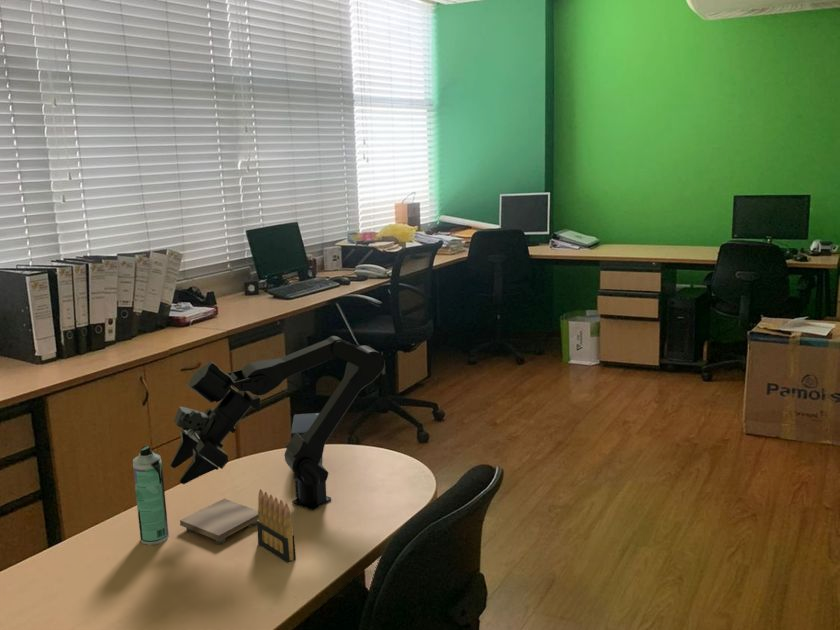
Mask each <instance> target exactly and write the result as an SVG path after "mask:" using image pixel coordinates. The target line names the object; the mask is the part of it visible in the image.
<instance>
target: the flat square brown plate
mask: <svg viewBox="0 0 840 630" xmlns="http://www.w3.org/2000/svg"><path fill="white" fill-rule="evenodd" d="M179 521H180V522H179V525H180V526H181V527H184V528H186V529H185V530H186V533H194V532H195V533H198V534H201V535H203V536H206V537H208V538H211V539H213V540H214V542H215V544H216V545H223V544H225V542H226V538H228V537H229V536H231V535H233V534H235V533H236V532H238V531H240V530H242V529H244V528H246V527H247V526H249V527H256V526H257V521H259V519H258V509H255V508H252V507H249V506H246V505H243V504H242V503H238V502H236V501H232V500H229V499H226V498H223V499H220V500H218V501H216V502H214V503H212V504H211V505H208V506H206V507H204V508H202V509H200V510H197V511H196V512H193V513H192V514H189V515H188V516H186V517H184V518H182V519H180V520H179Z"/></svg>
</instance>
